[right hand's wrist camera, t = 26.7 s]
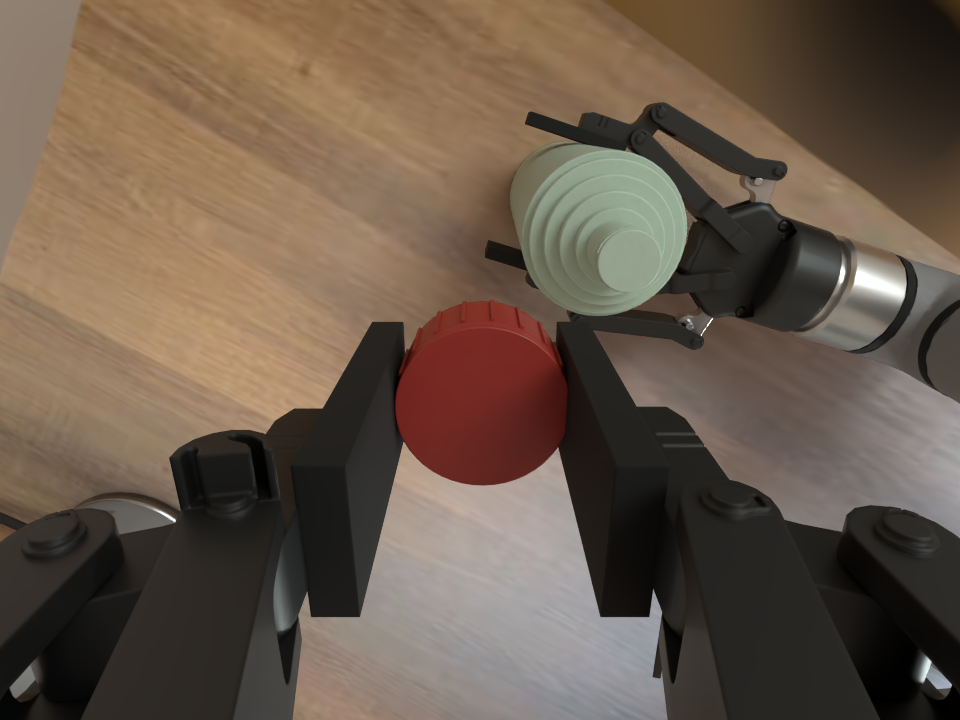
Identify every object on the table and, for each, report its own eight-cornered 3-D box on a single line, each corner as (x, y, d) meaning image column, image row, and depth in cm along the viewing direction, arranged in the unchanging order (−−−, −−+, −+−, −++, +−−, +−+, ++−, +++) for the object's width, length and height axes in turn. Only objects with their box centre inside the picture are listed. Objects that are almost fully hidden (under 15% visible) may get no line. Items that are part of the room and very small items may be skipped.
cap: (481, 263, 13) (481, 284, 11) (594, 373, 14) (611, 409, 12) (371, 375, 14) (354, 411, 12) (484, 470, 15) (484, 517, 13)
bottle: (632, 168, 44) (772, 207, 22) (584, 264, 47) (667, 383, 25) (536, 123, 43) (584, 118, 21) (493, 225, 46) (496, 313, 24)
